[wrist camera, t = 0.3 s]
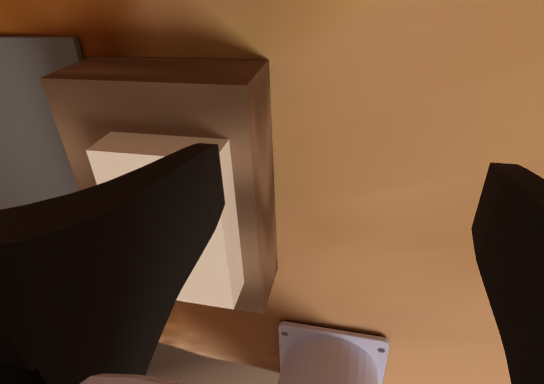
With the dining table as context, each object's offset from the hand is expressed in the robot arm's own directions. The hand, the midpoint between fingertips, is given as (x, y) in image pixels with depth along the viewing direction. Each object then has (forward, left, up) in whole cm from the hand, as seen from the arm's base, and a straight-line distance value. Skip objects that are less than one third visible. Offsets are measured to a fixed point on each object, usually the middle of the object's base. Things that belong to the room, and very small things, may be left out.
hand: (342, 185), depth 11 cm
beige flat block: (-6, +8, -6) cm, 12 cm away
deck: (-6, +9, -10) cm, 15 cm away
